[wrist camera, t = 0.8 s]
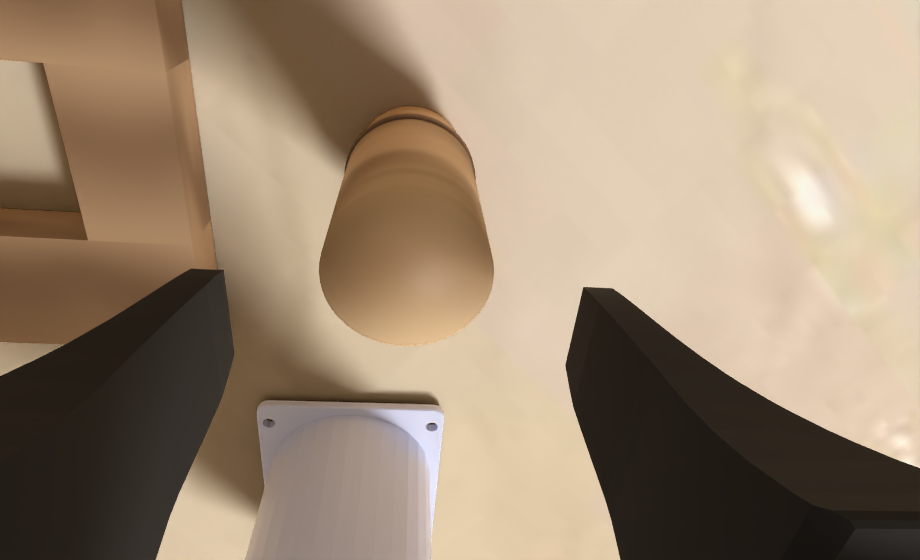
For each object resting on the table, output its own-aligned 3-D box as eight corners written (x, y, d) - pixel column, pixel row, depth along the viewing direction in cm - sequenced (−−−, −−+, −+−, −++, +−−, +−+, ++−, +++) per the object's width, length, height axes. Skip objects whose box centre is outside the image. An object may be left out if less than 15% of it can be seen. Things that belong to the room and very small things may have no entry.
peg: (464, 216, 22) (485, 350, 15) (351, 209, 21) (319, 344, 15) (476, 103, 20) (506, 199, 13) (350, 93, 19) (313, 187, 12)
